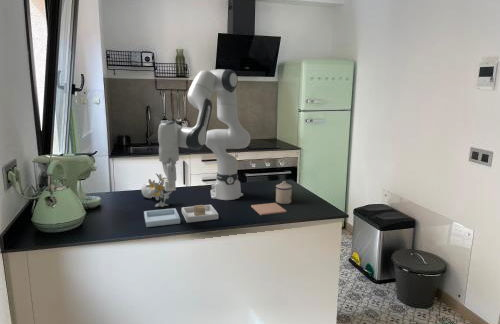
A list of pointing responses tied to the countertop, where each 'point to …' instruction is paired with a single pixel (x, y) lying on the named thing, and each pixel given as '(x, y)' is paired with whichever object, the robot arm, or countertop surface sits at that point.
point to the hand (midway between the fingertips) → (170, 185)
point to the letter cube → (168, 185)
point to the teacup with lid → (283, 193)
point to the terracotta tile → (268, 208)
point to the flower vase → (155, 190)
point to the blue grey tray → (161, 217)
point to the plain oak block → (199, 210)
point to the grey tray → (190, 217)
